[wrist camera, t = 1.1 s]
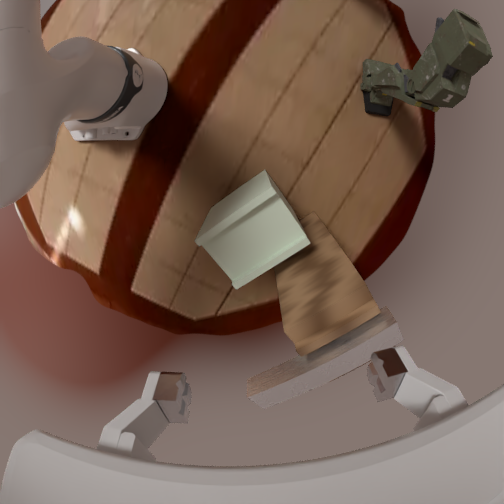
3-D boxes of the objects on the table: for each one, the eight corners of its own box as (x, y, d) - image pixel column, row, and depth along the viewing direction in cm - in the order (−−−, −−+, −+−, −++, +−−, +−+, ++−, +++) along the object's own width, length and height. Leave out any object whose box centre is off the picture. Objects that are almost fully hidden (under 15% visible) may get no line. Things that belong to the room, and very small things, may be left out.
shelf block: (240, 244, 52) (236, 289, 38) (211, 207, 49) (194, 241, 35) (292, 209, 49) (310, 243, 35) (265, 169, 46) (271, 186, 32)
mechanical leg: (395, 135, 42) (514, 93, 12) (361, 130, 42) (475, 69, 12) (386, 73, 39) (476, 1, 10) (354, 66, 39) (433, -25, 10)
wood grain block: (301, 283, 56) (331, 388, 31) (269, 239, 52) (285, 339, 27) (342, 258, 53) (398, 352, 29) (313, 211, 49) (370, 290, 25)
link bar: (262, 391, 33) (263, 409, 30) (247, 379, 32) (247, 397, 29) (394, 323, 28) (403, 339, 25) (386, 305, 27) (396, 322, 24)
